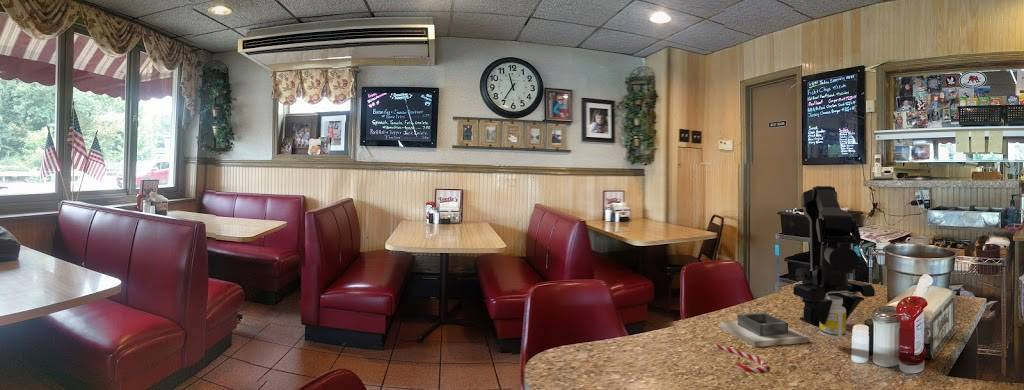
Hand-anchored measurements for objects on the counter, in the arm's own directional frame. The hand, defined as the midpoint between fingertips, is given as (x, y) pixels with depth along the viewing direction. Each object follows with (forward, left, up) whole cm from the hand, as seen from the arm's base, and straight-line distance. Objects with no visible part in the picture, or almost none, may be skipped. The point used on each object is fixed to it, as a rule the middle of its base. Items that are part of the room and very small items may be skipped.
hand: (832, 323), depth 108 cm
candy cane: (+28, +1, -7) cm, 29 cm away
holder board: (+11, -11, -6) cm, 17 cm away
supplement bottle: (0, 0, -3) cm, 3 cm away
